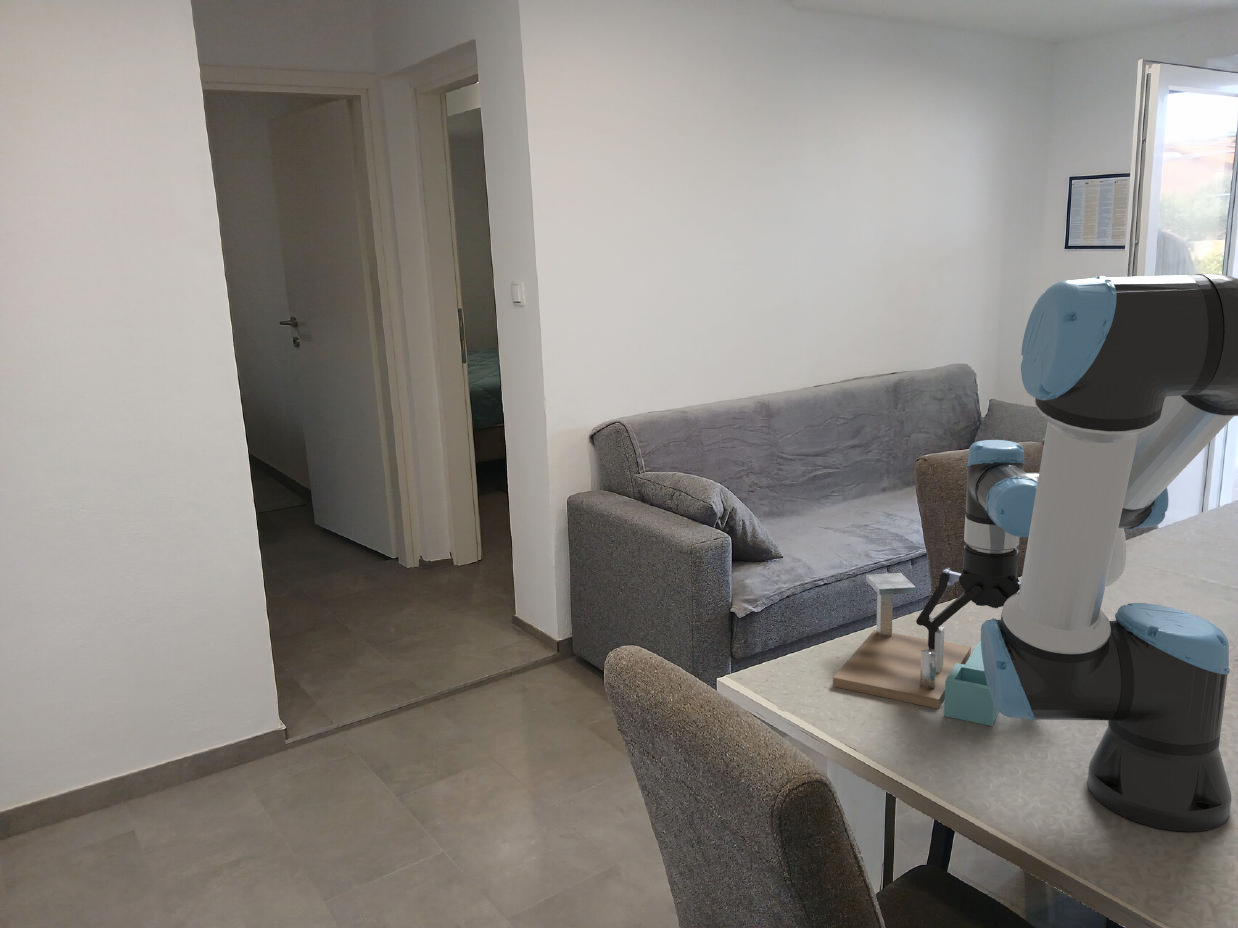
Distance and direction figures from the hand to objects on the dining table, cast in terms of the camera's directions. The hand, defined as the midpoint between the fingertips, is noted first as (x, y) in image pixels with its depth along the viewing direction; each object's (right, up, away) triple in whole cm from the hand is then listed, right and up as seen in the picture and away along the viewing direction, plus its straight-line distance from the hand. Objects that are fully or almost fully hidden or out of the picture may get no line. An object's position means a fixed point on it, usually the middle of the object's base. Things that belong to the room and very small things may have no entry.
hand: (984, 678), depth 145 cm
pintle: (-9, -2, -1) cm, 9 cm away
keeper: (-10, +2, +16) cm, 19 cm away
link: (-1, -2, -1) cm, 2 cm away
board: (-10, 0, +7) cm, 12 cm away
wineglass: (+23, +2, +14) cm, 27 cm away
